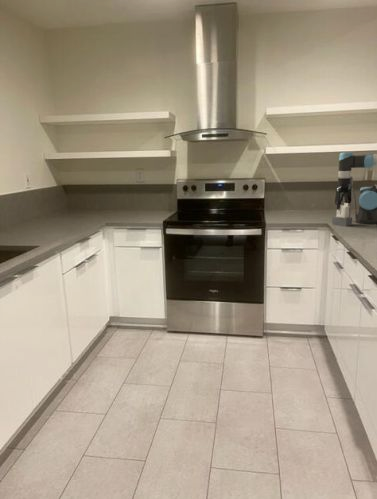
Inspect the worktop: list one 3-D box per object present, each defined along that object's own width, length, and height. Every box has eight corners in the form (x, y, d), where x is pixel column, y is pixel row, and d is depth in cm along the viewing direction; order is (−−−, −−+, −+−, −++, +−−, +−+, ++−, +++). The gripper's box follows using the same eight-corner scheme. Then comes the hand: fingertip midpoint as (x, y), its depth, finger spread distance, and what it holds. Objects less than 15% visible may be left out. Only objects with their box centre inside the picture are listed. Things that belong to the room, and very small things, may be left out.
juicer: (356, 221, 254) (357, 175, 247) (338, 221, 259) (339, 176, 252) (358, 219, 262) (359, 174, 255) (341, 219, 267) (341, 175, 261)
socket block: (337, 223, 251) (338, 215, 250) (351, 225, 243) (352, 217, 242) (332, 224, 248) (332, 216, 247) (345, 226, 240) (346, 218, 239)
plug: (340, 223, 250) (341, 205, 247) (348, 224, 245) (349, 206, 242) (336, 224, 247) (337, 206, 244) (344, 225, 242) (345, 206, 240)
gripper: (348, 176, 247) (346, 211, 253) (329, 178, 236) (327, 215, 242) (359, 176, 241) (356, 212, 247) (340, 178, 230) (338, 216, 236)
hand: (342, 213), depth 244 cm, fingers open, 7 cm apart
